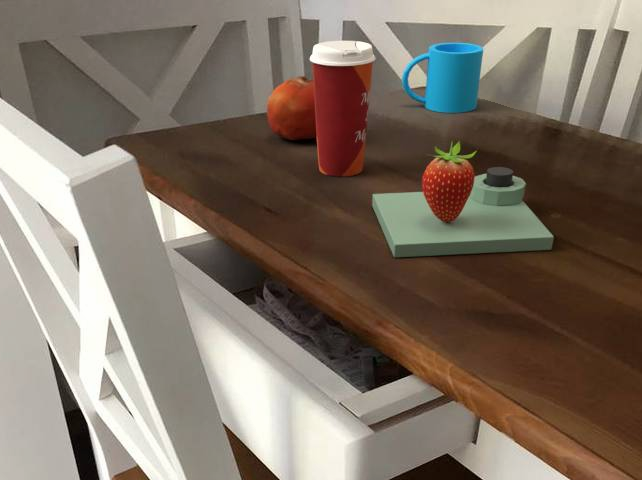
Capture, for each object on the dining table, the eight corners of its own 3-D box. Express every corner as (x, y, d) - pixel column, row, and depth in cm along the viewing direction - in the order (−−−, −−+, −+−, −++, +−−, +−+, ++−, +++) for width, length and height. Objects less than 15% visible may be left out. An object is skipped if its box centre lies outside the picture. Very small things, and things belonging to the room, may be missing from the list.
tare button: (506, 180, 82) (508, 166, 81) (514, 189, 80) (516, 174, 79) (482, 181, 82) (484, 167, 81) (489, 190, 80) (491, 175, 79)
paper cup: (379, 175, 91) (386, 49, 83) (321, 182, 90) (320, 54, 81) (358, 156, 97) (362, 37, 88) (303, 162, 96) (301, 41, 87)
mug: (472, 99, 119) (478, 42, 114) (480, 112, 113) (487, 53, 108) (398, 99, 120) (401, 43, 115) (402, 113, 113) (405, 54, 108)
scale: (511, 198, 85) (516, 172, 83) (554, 249, 74) (561, 220, 72) (371, 204, 84) (372, 178, 82) (393, 257, 73) (395, 228, 71)
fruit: (474, 231, 74) (485, 149, 69) (423, 232, 74) (430, 150, 69) (463, 211, 78) (472, 132, 73) (414, 212, 78) (421, 134, 73)
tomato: (254, 139, 104) (251, 77, 99) (299, 124, 109) (298, 65, 104) (301, 152, 99) (300, 87, 94) (346, 137, 104) (347, 75, 99)
